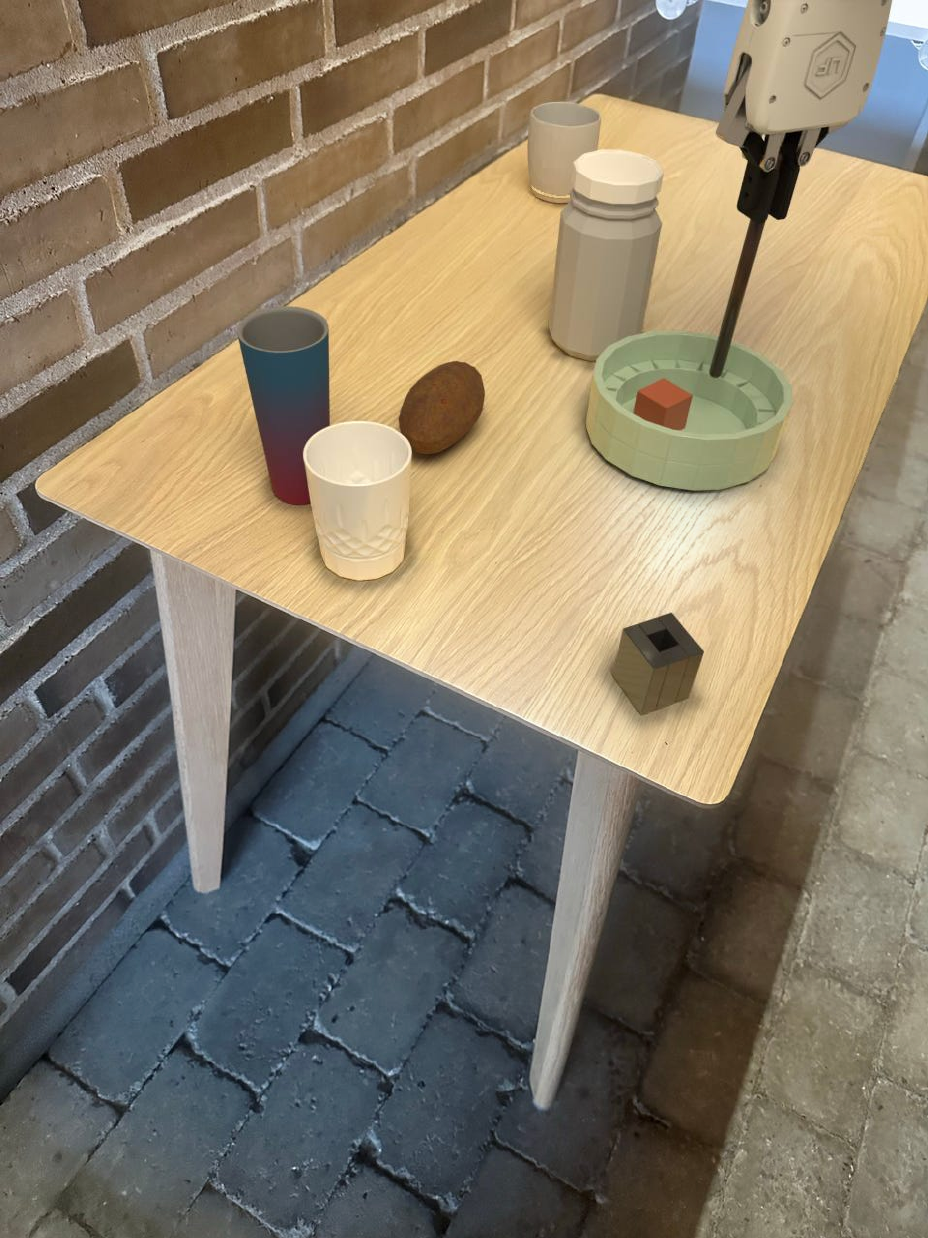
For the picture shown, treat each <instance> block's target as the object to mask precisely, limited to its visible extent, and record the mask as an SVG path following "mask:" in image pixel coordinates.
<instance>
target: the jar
mask: <svg viewBox="0 0 928 1238" xmlns="http://www.w3.org/2000/svg"><path fill="white" fill-rule="evenodd" d="M664 175H665V171H664V169H663V167H662V166H661V163H660V162H659V161H657V160H655V159H654V158H652V157H650V156H648V155H646V154H644V153H639V152H635V151H631V150H626V149H607V148H606V149H602V148H601V149H597V151H593V152H588V153H584V154H582V155H581V156H580V157H579V158H578V159H577V160H575V161H574V163H573V172H572V183H573V186H574V188H573V189H572V190H571V191H570V197H571V201H570V202H569V203H566V205H565V206H563V208H562V209H561V211H560V217H559V225H558V226H559V227H558V233H557V234H558V236H557V243H556V253H555V263H554V270H553V281H552V289H551V298H550V299H551V300H550V308H549V309H550V310H549V318H548V329H549V334H550V338H551V339H552V340H553V342H554V344H555V346H557V347H558V348H559V349H561V350H562V351H563V352H564V353H566V354H567V355H569V356H570V357H573V358H577V359H580V360H584V361H588V362H596V360H597V358H598V357H599V356H600V355H601V354H602V353H603V352H604V351H605V350H606V348H607V347H608V346H610V345H612V344H614V343H616V342H618V341H620V340H622V339H624V338H626V337H628V336H632V335H637V334H641V333H643V328H644V323H645V317H646V313H647V307H648V302H649V296H650V291H651V285H652V281H653V275H654V269H655V264H656V259H657V254H658V249H659V248H658V247H659V242H660V238H661V233H662V226H663V221H662V220H661V218H660V215H659V213H658V211H657V209H656V208H658V206H659V204H660V201H659V199H658V197H657V196H658V195H659V194H660V193H661V191H662V186H663V181H664Z"/></svg>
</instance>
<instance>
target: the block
mask: <svg viewBox="0 0 928 1238" xmlns="http://www.w3.org/2000/svg"><path fill="white" fill-rule="evenodd" d="M692 398H693V395H692V394H690V393H688V392H687V391H685V390H683V389H682V388H680V387H678V386H677V385H675V384H673V383H672V382H670V381H668V380H666V379H665V378H663V379H661V380H659V381H657V382H655V383H653V384H651V385H648V386H646V387H644V388H642V389H640V390H638V392H637V397H636V402H635V407H634V412H633V413H634V414H635V415H637V416H639V417H640V418H642V419H644V420H646V421H649V422H652V423H655V424H658V425H661V426H664V427H667V428H670V429H673V430H679V431H680V430H682V429H684V428H685V426H686V422H687V418H688V414H689V410H690V406H691V402H692Z"/></svg>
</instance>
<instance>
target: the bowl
mask: <svg viewBox="0 0 928 1238" xmlns="http://www.w3.org/2000/svg"><path fill="white" fill-rule="evenodd" d="M718 336H719V335H715V334H711V333H705V332H699V331H698V332H697V331H691V330H683V329H682V330H681V329H678V330H676V329H675V330H673V329H672V330H651V331H646V332H642V333H641V334H637V335H632V336H628V337H626V338H624V339H622V340H620V341H618V342H616V343H614V344H612V345H610V346H608V347H607V348H606V350H605V351H604V352H603V353H602V354H601V355H600V356H599V357H598V358H597V360H596V361H595V364H594V369H593V373H592V379H591V387H590V393H589V399H588V406H587V412H586V420H585V428H586V431H587V433H588V437H589V440H590V442H591V445H592V446H593V447H594V448H595V449H596V450H597V452H599V454H600V455H601V456H602V457H603V458H604V459H605V460H606V461H608V462H609V463H610V464H612V465H613V466H616V467H617V468H619V469H620V470H621V471H623V472H625V473H626V474H628V475H629V476H632V477H634V478H637V479H639V480H643V481H645V482H648V483H650V484H651V483H652V484H654V485H656V486H662V487H668V488H672V489H673V488H674V489H681V490H688V491H713V490H725V489H728V488H731V487H735V486H738V485H742V484H745V483H748V482H750V481H752V480H753V479H755V478H756V477H758V476H759V475H760V474H762V473H764V472H766V471H767V470H768V469H769V467H770V465H771V463H772V462H773V460H774V458H775V457H776V454H777V452H778V450H779V447H780V443H781V441H782V438H783V434H784V432H785V429H786V426H787V422H788V420H789V417H790V414H791V412H792V408H793V405H794V399H793V398H794V397H793V387H792V384H791V383H790V381H789V380H788V379H787V376H786V375H785V373H784V372H783V370H782V369H781V368H780V367H779V366H778V365H776V364H775V363H774V362H773V361H771V360H770V359H769V358H768V357H767V356H765V355H764V354H762V353H760V352H759V351H757V350H755V349H753V348H750V347H749V346H747V345H745V344H743V343H740V342H737V341H735V340H732V341H731V345H730V348H729V352H728V355H727V359H726V362H725V366H724V369H723V373H722V375H721V376H720V377H719V378H712V377H711V376H710V374H709V370H710V366H711V362H712V359H713V355H714V351H715V347H716V344H717V340H718ZM663 378H665V379H666V380H668V381H670V382H672V383H673V384H675V385H677V386H678V387H680V388H682V389H683V390H685V391H687V392H688V393H690V394H692V395H693V398H692V402H691V406H690V410H689V414H688V418H687V422H686V426H685V428H684V429H682V430H680V431H679V430H673V429H670V428H667V427H664V426H661V425H658V424H655V423H652V422H649V421H646V420H644V419H642V418H640V417H639V416H637V415H635V414H634V413H633V412H634V407H635V402H636V397H637V392H638V390H640V389H642V388H644V387H646V386H648V385H651V384H653V383H655V382H657V381H659V380H661V379H663Z"/></svg>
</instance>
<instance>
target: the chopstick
mask: <svg viewBox="0 0 928 1238" xmlns="http://www.w3.org/2000/svg"><path fill="white" fill-rule="evenodd" d="M783 158H784V154H783V151H782V150H781V149H780V150H779V154H778V159H777V163H776V166H775V167H774V169H776V170H777V171H779V172H780V169H781V165H782V162H783ZM766 222H767V220H766V221H765V222H764V223H760V224H757V223H755V222H754V221H752V220H751V219H750V218H749V223H748V227H747V230H746V233H745V237H744V240H743V245H742V248H741V251H740V256H739V260H738V264H737V267H736V270H735V274H734V278H733V282H732V285H731V289H730V293H729V296H728V300H727V304H726V307H725V312H724V315H723V319H722V321H721V326H720V330H719V333H718V335H717V336H718V340H717V344H716V347H715V351H714V355H713V359H712V362H711V366H710V370H709V374H710V376H711V377H712V378H719V377H720V376H721V375H722V373H723V369H724V366H725V362H726V359H727V355H728V352H729V348H730V345H731V341H733V337H734V334H735V332H736V331H735V330H736V327H737V323H738V320H739V316H740V313H741V309H742V306H743V302H744V298H745V295H746V291H747V289H748V285H749V281H750V277H751V274H752V271H753V267H754V264H755V260H756V257H757V254H758V250H759V246H760V242H761V238H762V235H763V232H764V229H765V224H766Z"/></svg>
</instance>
